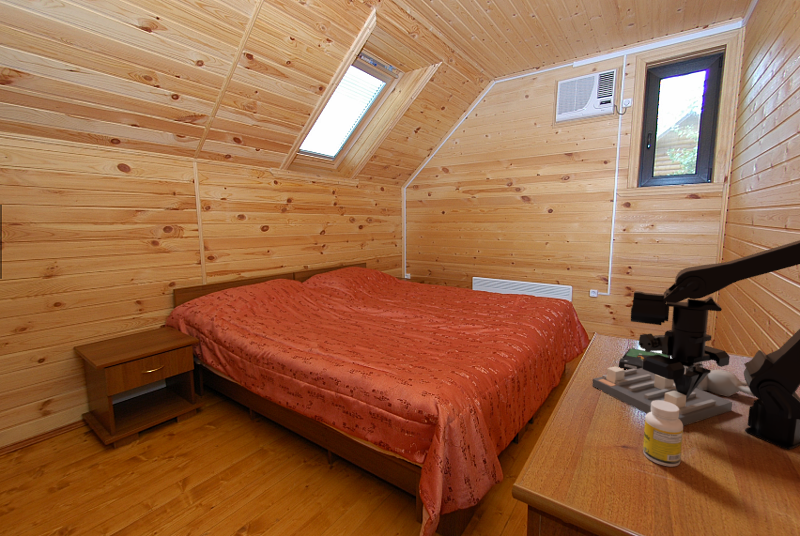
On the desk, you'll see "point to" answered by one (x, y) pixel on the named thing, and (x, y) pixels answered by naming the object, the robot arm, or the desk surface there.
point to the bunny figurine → (723, 383)
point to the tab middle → (662, 382)
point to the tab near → (675, 398)
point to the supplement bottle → (663, 434)
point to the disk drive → (636, 358)
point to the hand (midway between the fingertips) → (682, 398)
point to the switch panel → (661, 396)
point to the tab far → (615, 374)
